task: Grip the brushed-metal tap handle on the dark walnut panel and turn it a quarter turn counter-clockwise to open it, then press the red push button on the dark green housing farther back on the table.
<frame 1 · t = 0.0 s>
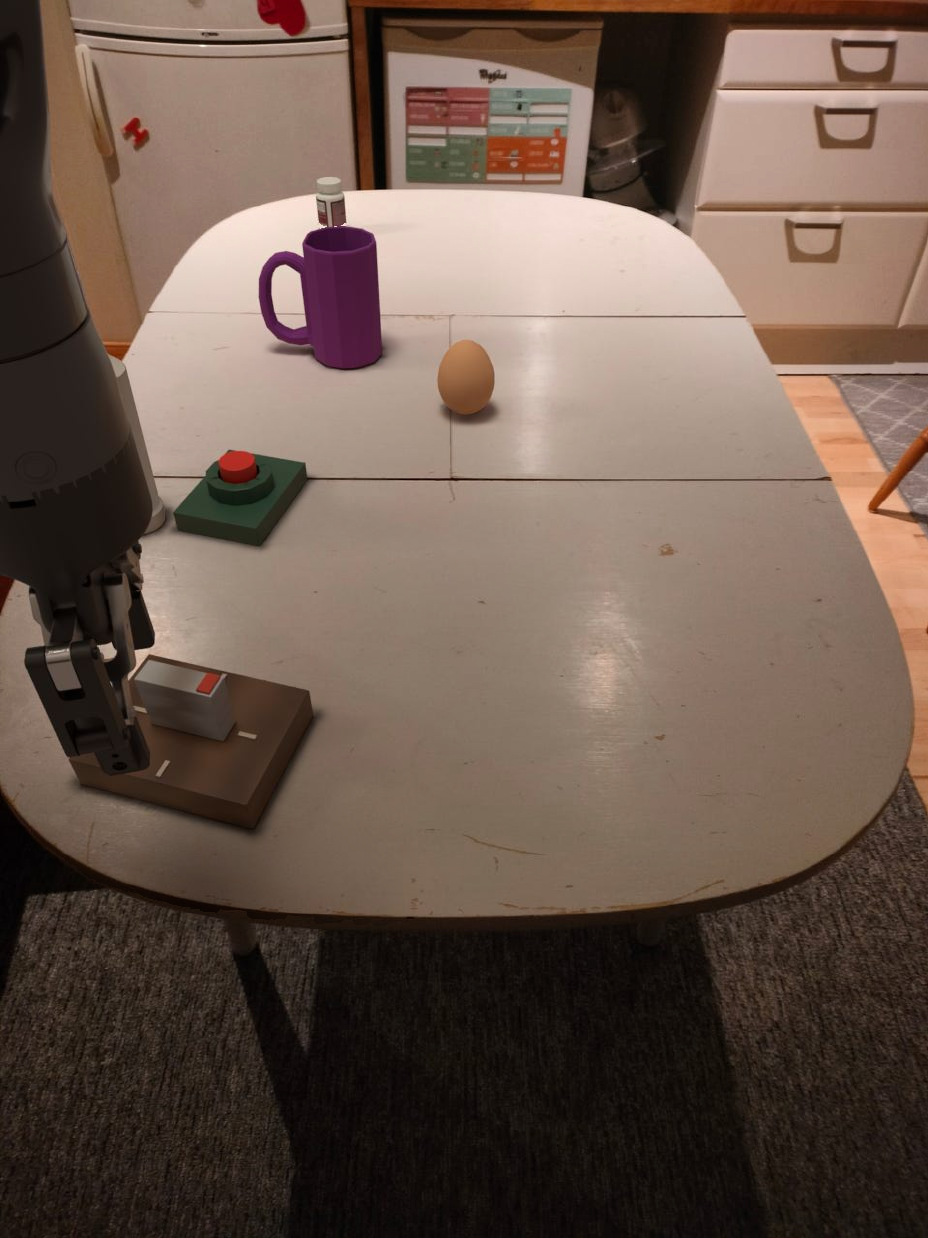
hand: (132, 702, 45), 18 cm above the table, tool pointing down, fingers open, 8 cm apart
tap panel: (201, 748, 65), on the table
egg: (465, 412, 103), on the table
pill bottle: (333, 234, 145), on the table
bottle: (141, 522, 86), on the table
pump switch: (245, 503, 88), on the table
tap handle: (186, 699, 61), point 6 cm above the table, hinge at 0.0°
mug: (324, 354, 113), on the table
red push button: (237, 467, 85), point 4 cm above the table, slide at 0.1 cm
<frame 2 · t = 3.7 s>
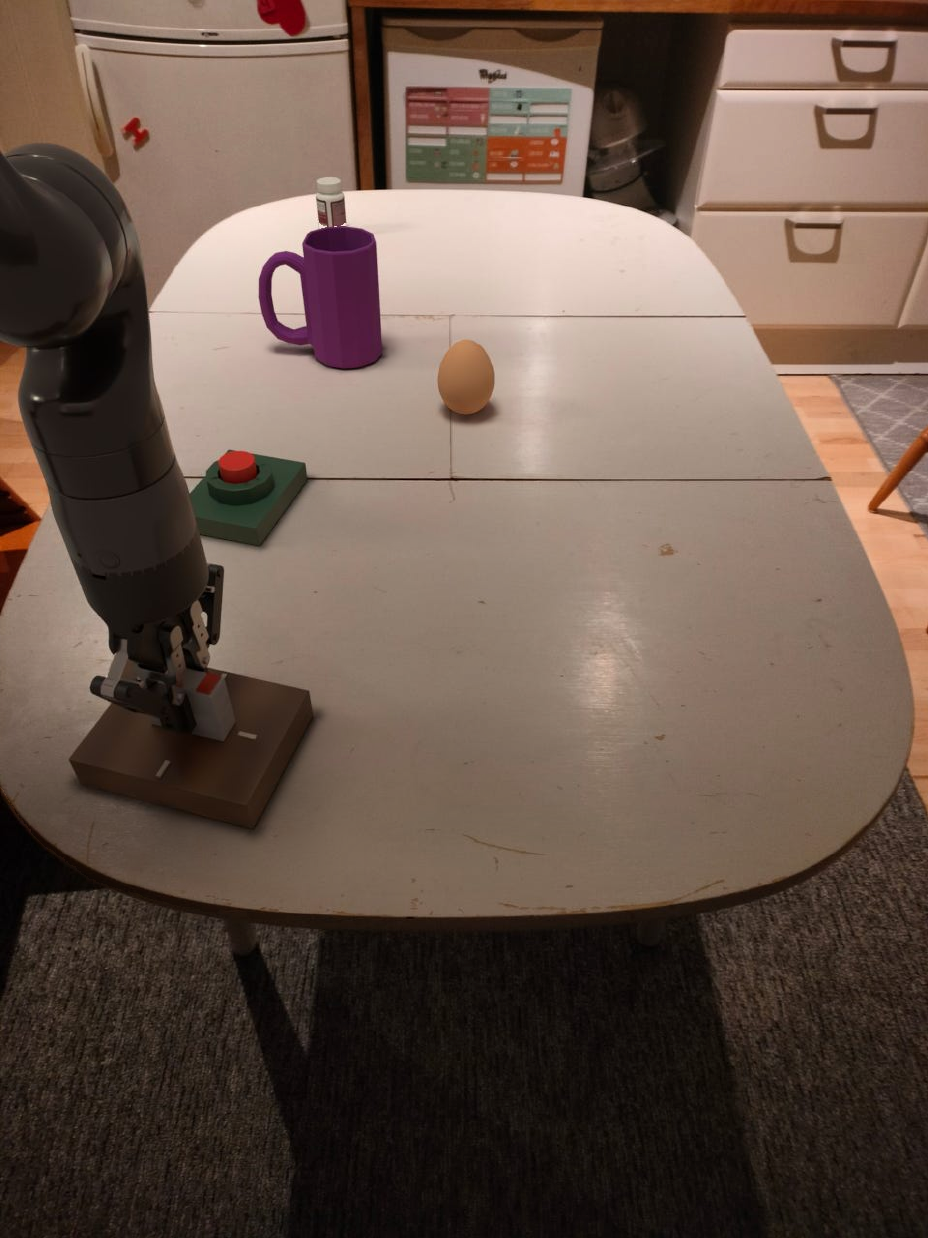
hand: (190, 714, 62), 4 cm above the table, tool pointing down, fingers closed on tap handle, 2 cm apart
tap handle: (186, 699, 61), point 6 cm above the table, hinge at 0.1°, touching gripper
everything else where it was.
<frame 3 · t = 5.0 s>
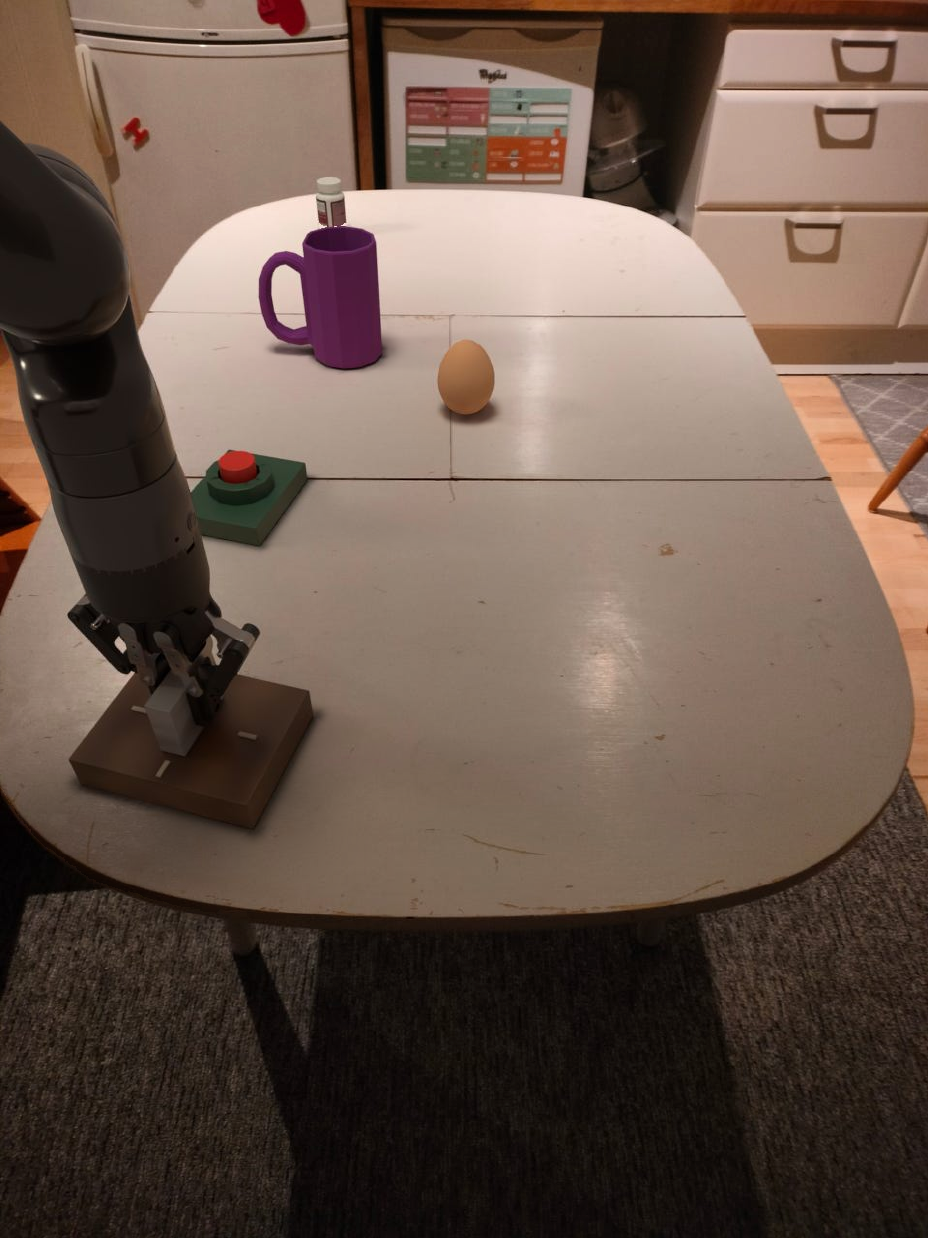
hand: (191, 713, 63), 4 cm above the table, tool pointing down, fingers closed on tap handle, 2 cm apart
tap handle: (186, 699, 61), point 6 cm above the table, hinge at 89.6°, touching gripper
everything else where it was.
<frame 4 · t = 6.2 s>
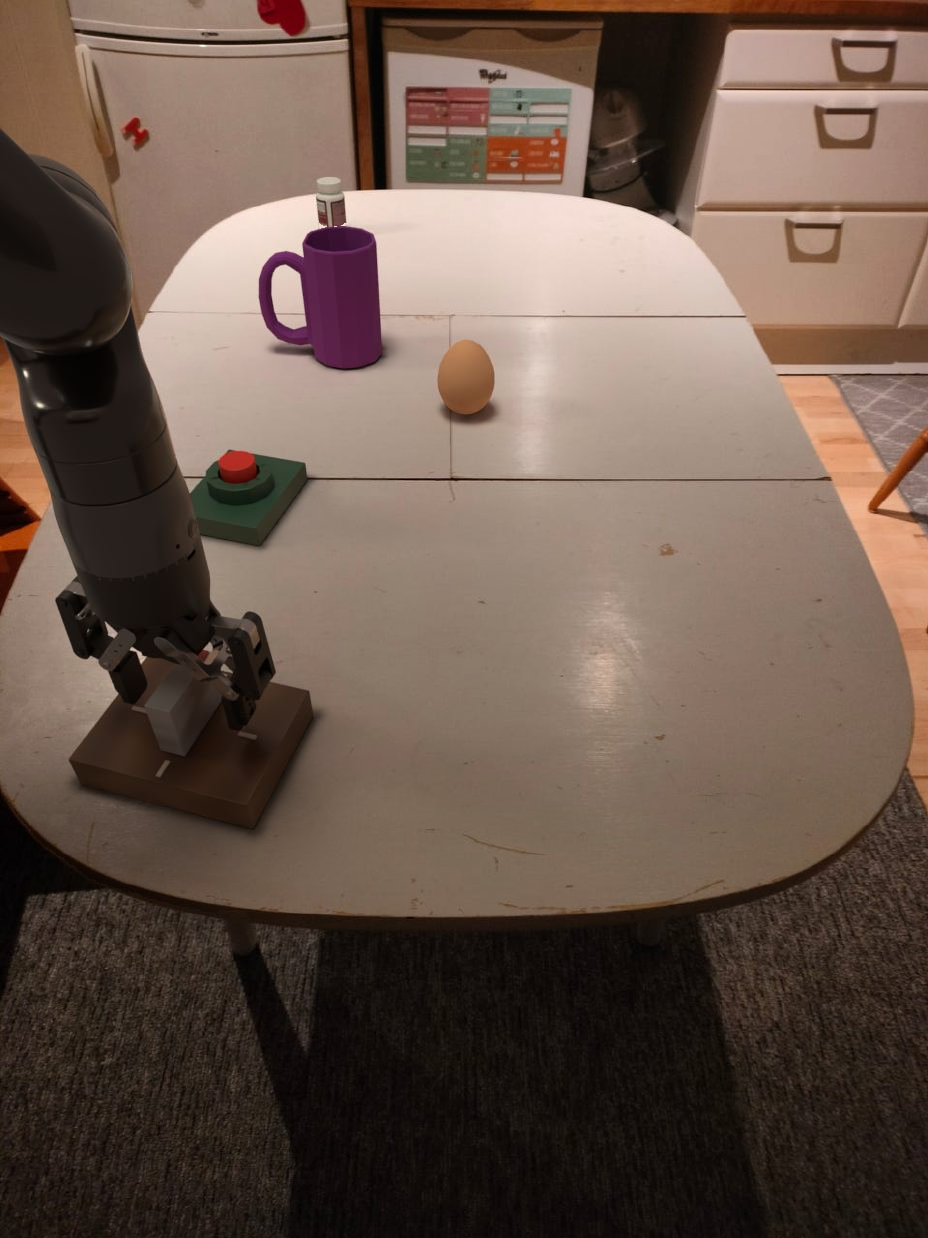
hand: (188, 708, 62), 5 cm above the table, tool pointing down, fingers open, 8 cm apart
tap handle: (186, 699, 61), point 6 cm above the table, hinge at 89.4°
everything else where it was.
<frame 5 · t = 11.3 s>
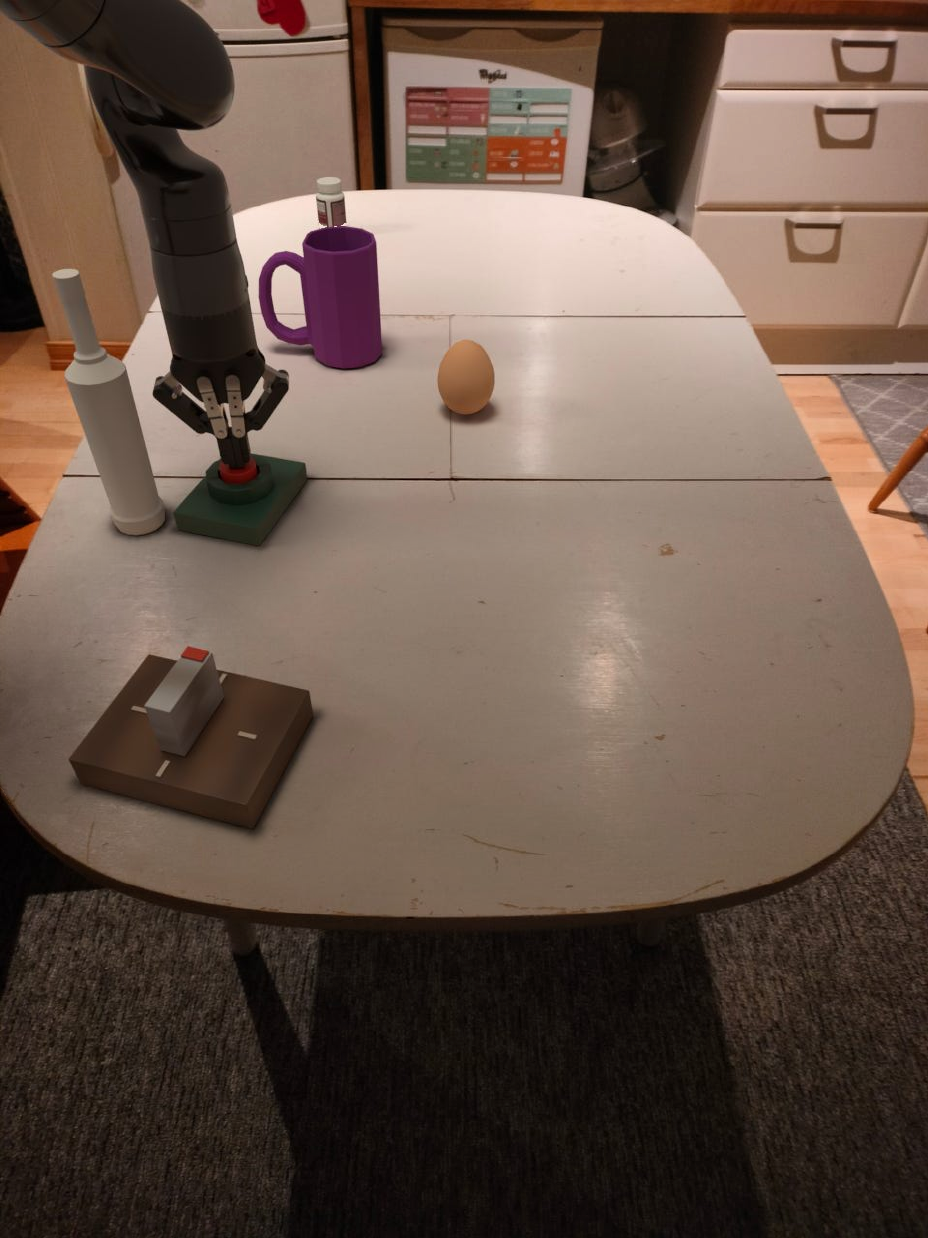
hand: (238, 464, 85), 5 cm above the table, tool pointing down, fingers closed
red push button: (238, 471, 86), point 4 cm above the table, slide at -0.4 cm, touching gripper
everything else where it was.
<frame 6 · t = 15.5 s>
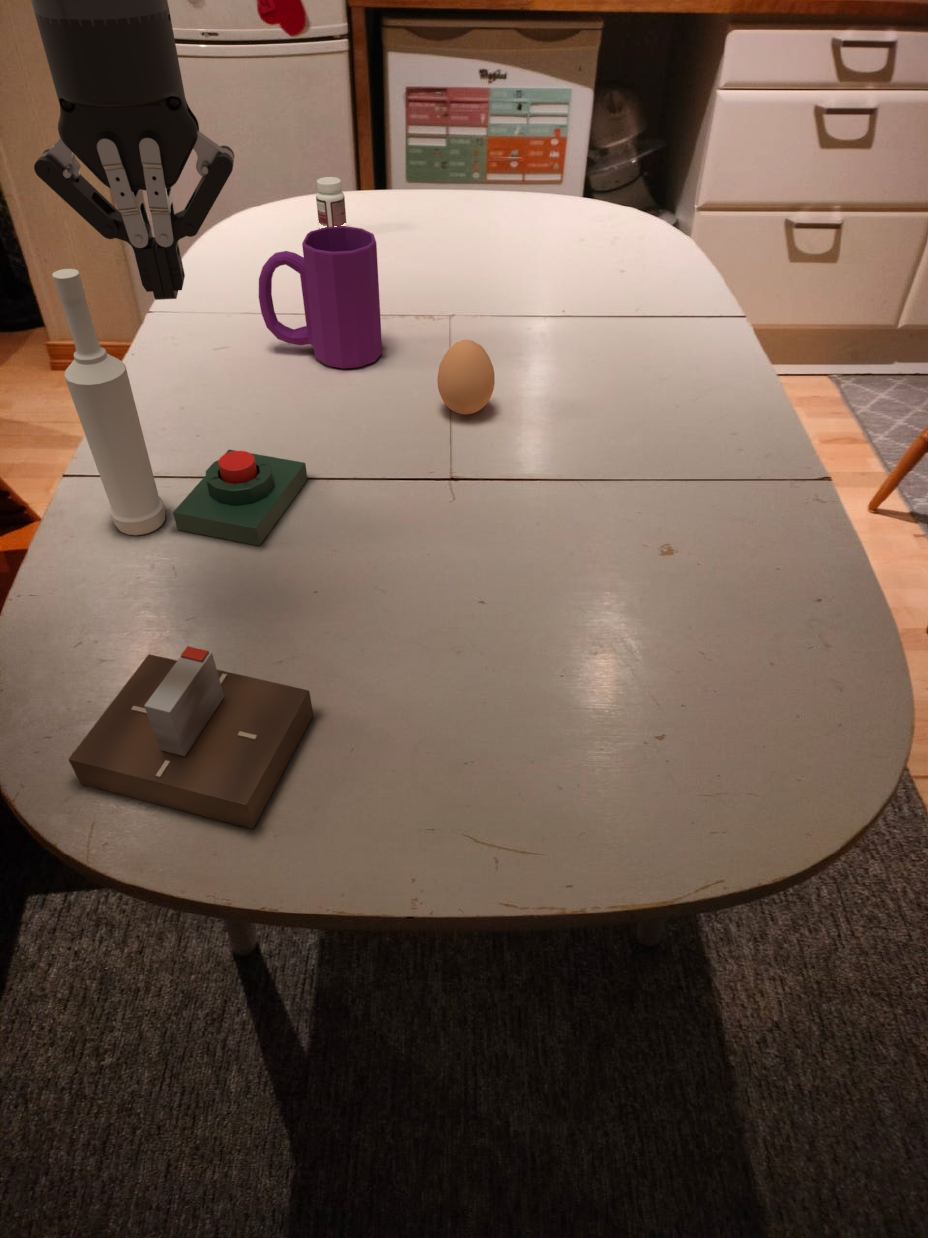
hand: (167, 294, 61), 27 cm above the table, tool pointing down, fingers closed
red push button: (237, 467, 85), point 4 cm above the table, slide at 0.1 cm
everything else where it was.
at the end: tap handle at +89° (first picture: +0°); red push button pushed in 1.1 cm at the most during the clip, back to where it started at the end; red push button slide at 0.1 cm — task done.
